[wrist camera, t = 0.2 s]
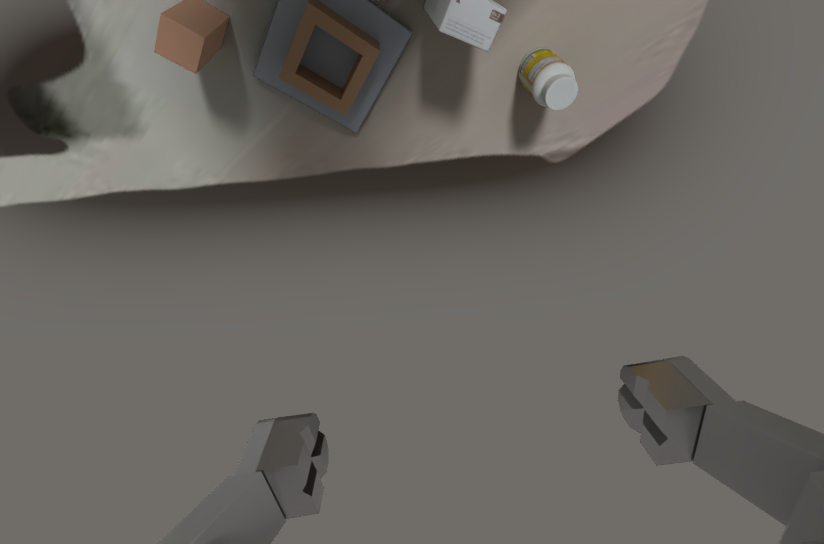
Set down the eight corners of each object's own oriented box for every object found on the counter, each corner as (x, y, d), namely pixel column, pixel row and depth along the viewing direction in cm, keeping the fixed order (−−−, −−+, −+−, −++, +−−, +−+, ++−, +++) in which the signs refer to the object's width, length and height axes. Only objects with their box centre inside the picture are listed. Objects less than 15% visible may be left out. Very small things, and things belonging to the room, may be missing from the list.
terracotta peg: (194, -5, 44) (161, 13, 37) (229, 16, 46) (204, 38, 39) (186, 28, 47) (154, 52, 40) (220, 48, 48) (195, 73, 41)
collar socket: (298, -53, 42) (291, -48, 38) (411, 30, 49) (415, 42, 45) (255, 71, 51) (246, 86, 47) (356, 128, 57) (356, 145, 53)
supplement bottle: (518, 52, 52) (541, 75, 45) (557, 43, 51) (587, 65, 44) (517, 92, 55) (538, 120, 49) (554, 84, 55) (581, 111, 48)
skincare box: (422, 9, 47) (434, 34, 39) (436, -34, 44) (453, -18, 36) (466, 29, 49) (487, 57, 41) (482, -11, 46) (509, 9, 38)
